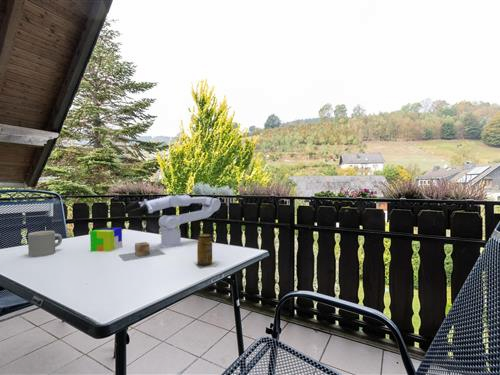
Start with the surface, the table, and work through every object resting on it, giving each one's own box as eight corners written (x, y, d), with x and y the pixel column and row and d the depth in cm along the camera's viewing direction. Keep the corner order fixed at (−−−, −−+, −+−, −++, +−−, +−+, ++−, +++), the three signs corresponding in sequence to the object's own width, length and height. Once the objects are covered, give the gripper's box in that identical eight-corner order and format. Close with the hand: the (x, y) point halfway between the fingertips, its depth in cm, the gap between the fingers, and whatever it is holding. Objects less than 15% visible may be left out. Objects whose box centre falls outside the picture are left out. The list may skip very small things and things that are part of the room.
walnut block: (146, 252, 127) (146, 241, 127) (149, 254, 123) (149, 243, 123) (135, 254, 124) (134, 243, 124) (138, 256, 120) (137, 245, 120)
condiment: (210, 260, 116) (210, 232, 116) (216, 266, 109) (216, 236, 108) (193, 262, 113) (193, 234, 113) (199, 268, 105) (199, 238, 105)
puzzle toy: (122, 247, 139) (121, 227, 139) (110, 252, 129) (109, 231, 129) (103, 246, 140) (103, 227, 140) (90, 251, 130) (90, 231, 130)
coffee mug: (32, 258, 119) (31, 235, 119) (25, 254, 125) (25, 233, 125) (67, 251, 130) (66, 231, 129) (59, 248, 136) (58, 228, 135)
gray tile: (157, 249, 134) (157, 248, 134) (166, 254, 124) (166, 254, 124) (118, 255, 123) (118, 254, 123) (124, 262, 114) (124, 261, 114)
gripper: (148, 194, 140) (121, 200, 131) (161, 200, 130) (132, 206, 121) (150, 207, 142) (123, 213, 133) (162, 214, 132) (134, 221, 123)
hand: (127, 211), depth 127 cm, fingers open, 7 cm apart
